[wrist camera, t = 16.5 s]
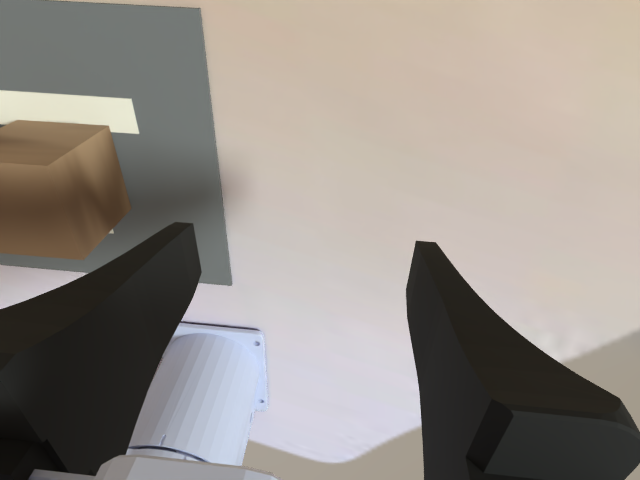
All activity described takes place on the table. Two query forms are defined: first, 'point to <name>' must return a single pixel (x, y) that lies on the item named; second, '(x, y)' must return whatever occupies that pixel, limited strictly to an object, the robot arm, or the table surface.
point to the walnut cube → (58, 188)
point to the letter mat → (123, 113)
